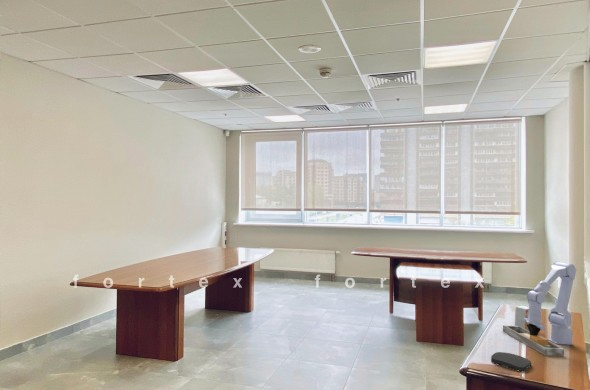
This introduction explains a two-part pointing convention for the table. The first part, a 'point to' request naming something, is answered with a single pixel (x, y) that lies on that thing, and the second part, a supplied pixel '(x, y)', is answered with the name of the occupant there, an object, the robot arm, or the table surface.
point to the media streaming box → (511, 361)
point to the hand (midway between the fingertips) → (533, 338)
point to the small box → (521, 316)
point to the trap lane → (524, 337)
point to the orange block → (539, 340)
